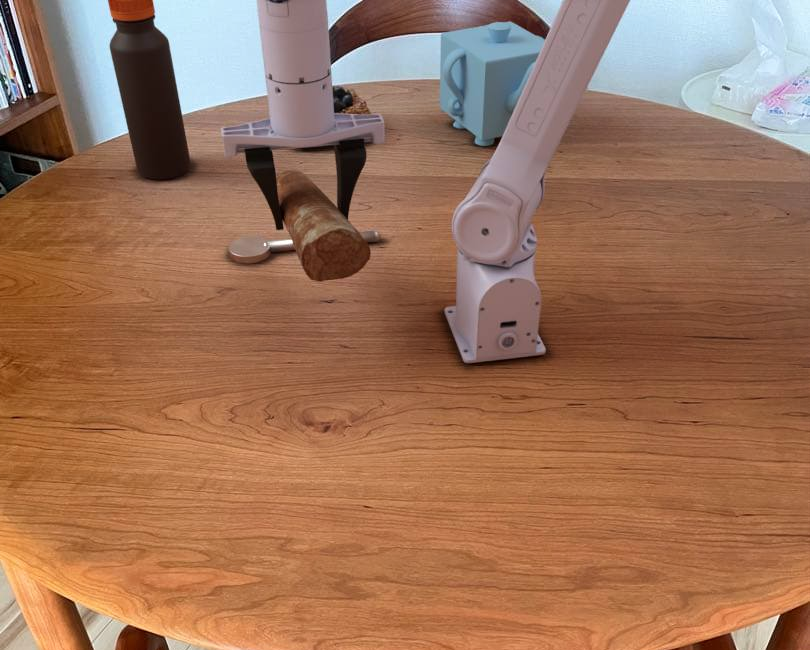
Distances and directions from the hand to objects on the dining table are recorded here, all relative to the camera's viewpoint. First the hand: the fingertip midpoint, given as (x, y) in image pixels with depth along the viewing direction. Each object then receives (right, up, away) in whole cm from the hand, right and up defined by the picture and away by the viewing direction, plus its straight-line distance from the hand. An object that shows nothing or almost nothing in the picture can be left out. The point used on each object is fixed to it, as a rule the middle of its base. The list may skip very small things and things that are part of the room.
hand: (311, 222), depth 88 cm
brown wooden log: (-1, -2, 0) cm, 2 cm away
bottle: (-22, +17, +28) cm, 39 cm away
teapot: (+22, +23, +34) cm, 47 cm away
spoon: (-3, +2, +14) cm, 14 cm away
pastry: (-1, +24, +36) cm, 43 cm away
